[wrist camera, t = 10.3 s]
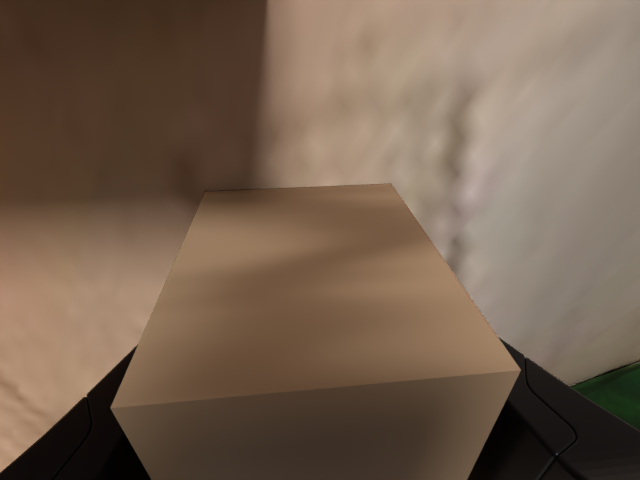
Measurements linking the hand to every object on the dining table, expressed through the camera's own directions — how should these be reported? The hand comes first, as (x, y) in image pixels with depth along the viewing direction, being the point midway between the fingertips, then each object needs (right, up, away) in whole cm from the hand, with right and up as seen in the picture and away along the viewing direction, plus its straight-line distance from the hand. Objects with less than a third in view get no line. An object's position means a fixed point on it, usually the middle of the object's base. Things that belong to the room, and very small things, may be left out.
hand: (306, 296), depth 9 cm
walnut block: (0, +1, +1) cm, 2 cm away
